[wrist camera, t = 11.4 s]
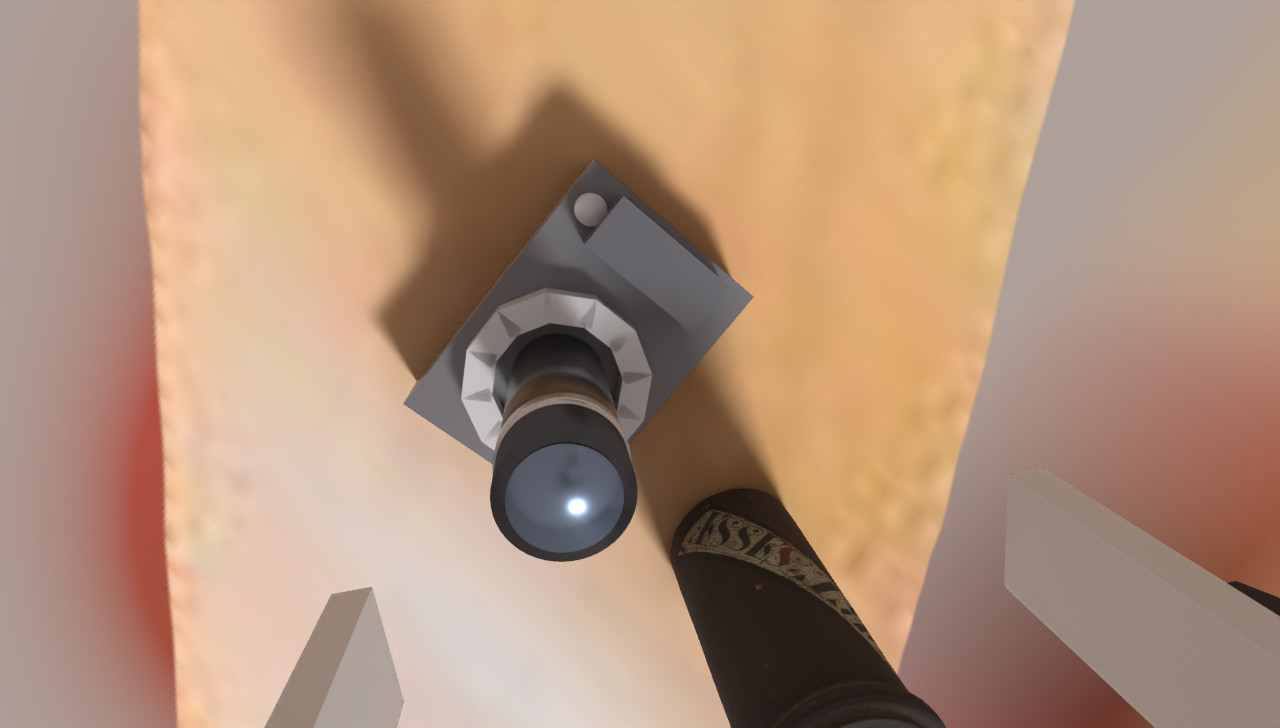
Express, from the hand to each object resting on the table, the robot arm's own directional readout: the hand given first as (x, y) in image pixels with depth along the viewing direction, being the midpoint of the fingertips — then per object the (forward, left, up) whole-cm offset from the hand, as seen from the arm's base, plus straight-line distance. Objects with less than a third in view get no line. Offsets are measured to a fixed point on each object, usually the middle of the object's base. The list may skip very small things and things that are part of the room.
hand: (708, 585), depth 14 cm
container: (+7, +17, -28) cm, 33 cm away
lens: (+4, 0, -24) cm, 24 cm away
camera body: (+2, 0, -28) cm, 28 cm away
